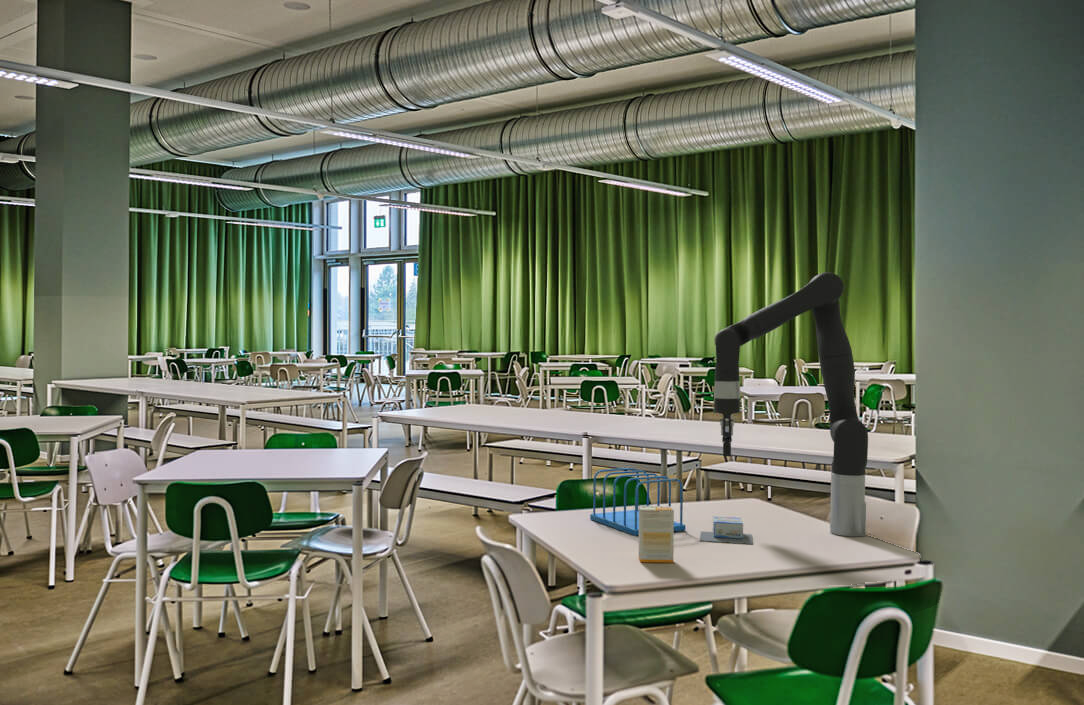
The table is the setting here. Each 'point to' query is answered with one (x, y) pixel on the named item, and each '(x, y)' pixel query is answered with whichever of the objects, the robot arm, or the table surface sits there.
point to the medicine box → (727, 527)
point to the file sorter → (630, 519)
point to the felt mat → (710, 537)
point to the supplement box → (656, 534)
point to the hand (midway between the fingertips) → (727, 456)
